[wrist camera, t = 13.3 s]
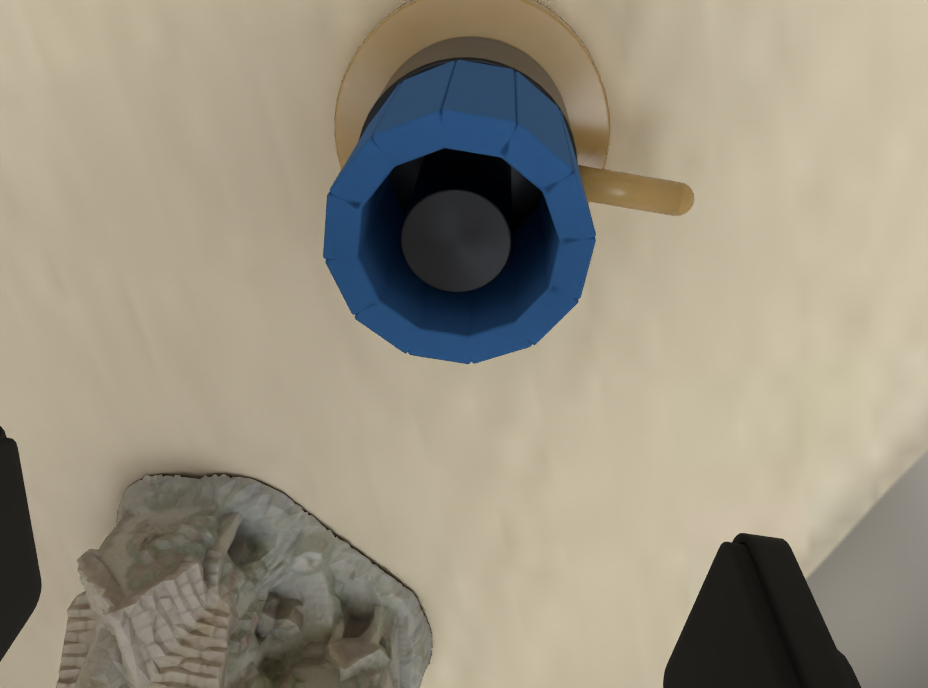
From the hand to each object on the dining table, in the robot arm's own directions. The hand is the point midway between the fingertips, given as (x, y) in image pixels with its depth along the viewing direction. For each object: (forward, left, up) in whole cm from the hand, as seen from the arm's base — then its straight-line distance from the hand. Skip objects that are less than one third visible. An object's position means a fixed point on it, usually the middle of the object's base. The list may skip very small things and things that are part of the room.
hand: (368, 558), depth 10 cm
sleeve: (+1, +1, -14) cm, 14 cm away
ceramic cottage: (-5, -24, -19) cm, 31 cm away
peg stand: (+2, +1, -19) cm, 19 cm away
